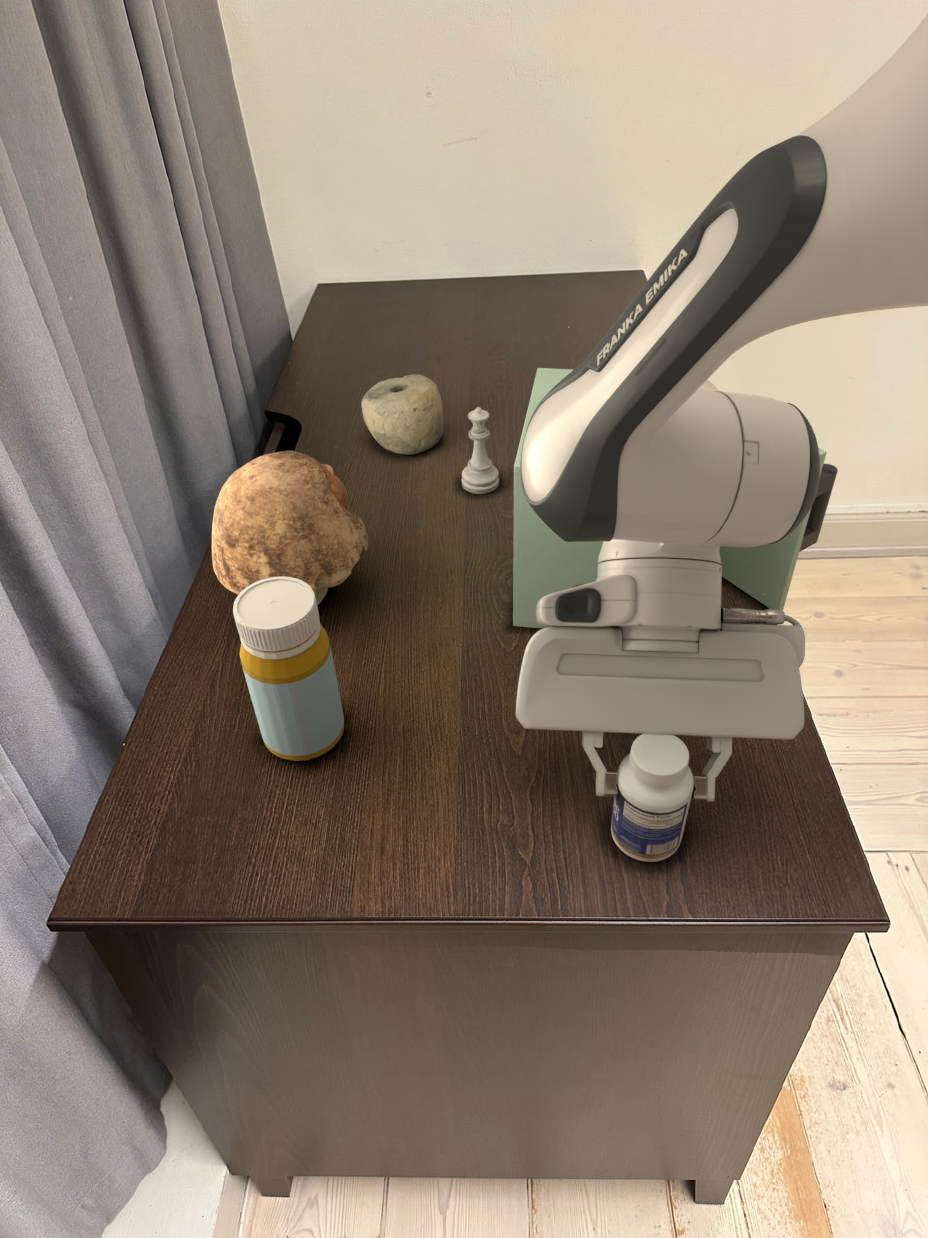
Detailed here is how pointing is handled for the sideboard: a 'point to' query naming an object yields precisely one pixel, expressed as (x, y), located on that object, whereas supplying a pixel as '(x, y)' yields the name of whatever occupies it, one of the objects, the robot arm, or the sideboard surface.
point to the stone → (404, 414)
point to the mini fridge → (543, 537)
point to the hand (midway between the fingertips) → (653, 798)
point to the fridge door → (778, 551)
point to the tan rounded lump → (285, 525)
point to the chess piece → (479, 458)
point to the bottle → (289, 668)
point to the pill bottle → (652, 798)
